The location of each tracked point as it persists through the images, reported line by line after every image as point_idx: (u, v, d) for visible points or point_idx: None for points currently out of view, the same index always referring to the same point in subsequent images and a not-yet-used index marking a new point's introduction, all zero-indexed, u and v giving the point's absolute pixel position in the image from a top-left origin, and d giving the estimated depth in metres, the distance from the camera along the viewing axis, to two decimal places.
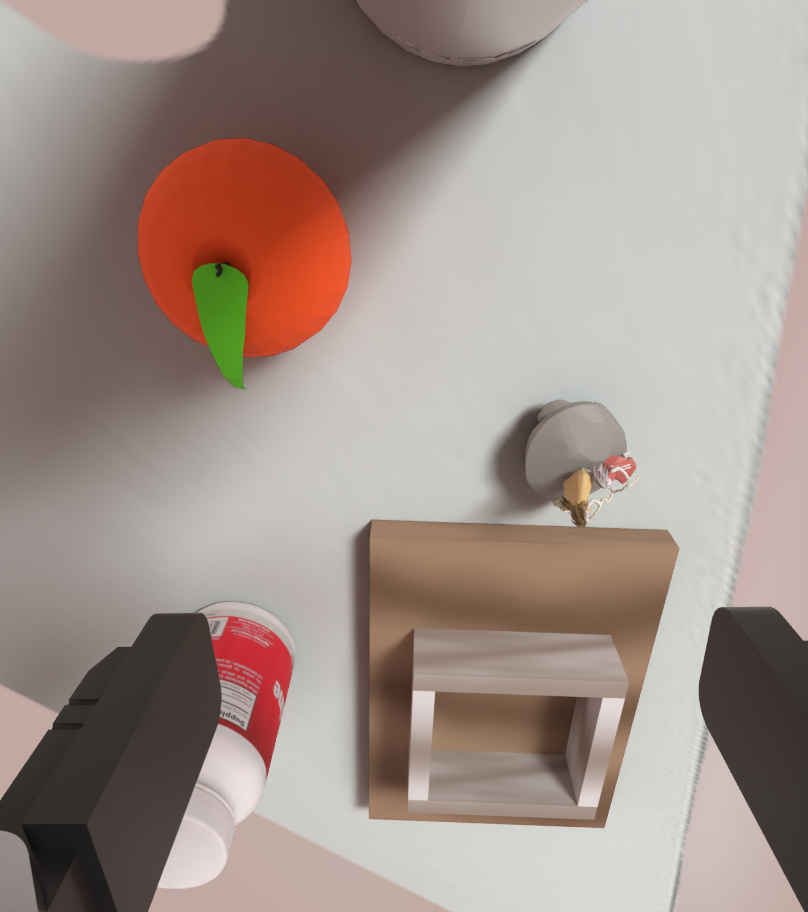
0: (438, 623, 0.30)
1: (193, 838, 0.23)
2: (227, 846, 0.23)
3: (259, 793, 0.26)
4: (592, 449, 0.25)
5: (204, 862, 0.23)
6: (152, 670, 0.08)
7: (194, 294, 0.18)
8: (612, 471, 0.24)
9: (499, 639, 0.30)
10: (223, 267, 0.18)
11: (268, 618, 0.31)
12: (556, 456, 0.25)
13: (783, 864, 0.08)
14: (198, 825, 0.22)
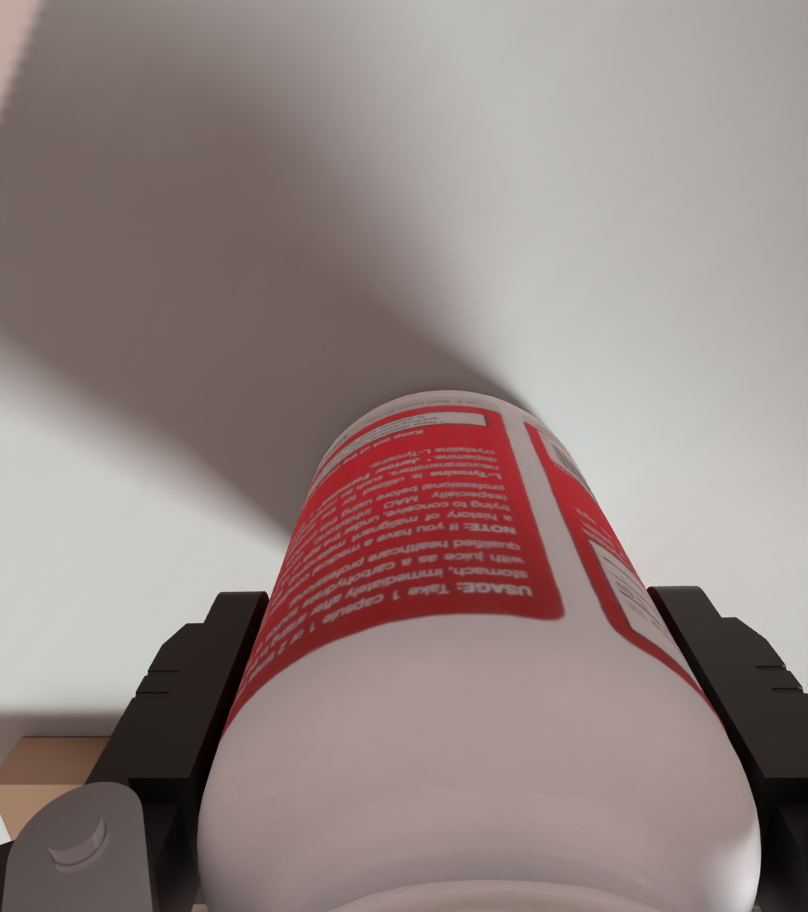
0: None
1: None
2: None
3: None
4: None
5: None
6: (227, 642, 0.09)
7: None
8: None
9: None
10: None
11: None
12: None
13: None
14: None
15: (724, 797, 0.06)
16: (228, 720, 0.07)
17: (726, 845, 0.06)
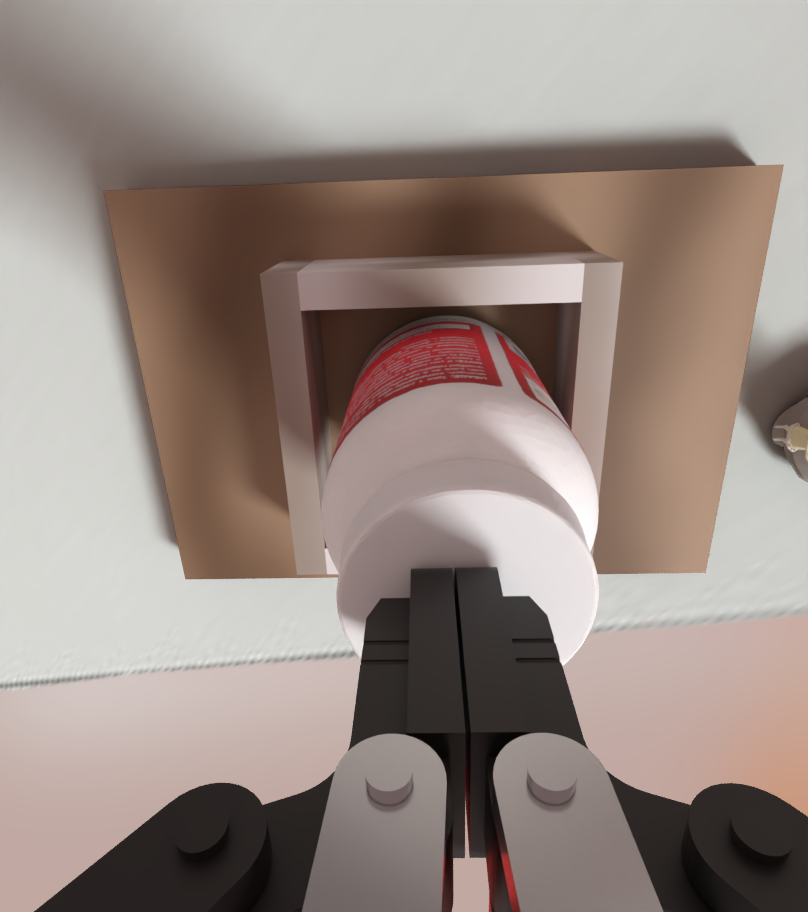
0: None
1: None
2: None
3: None
4: None
5: None
6: (442, 613, 0.09)
7: None
8: None
9: None
10: None
11: None
12: None
13: (464, 783, 0.09)
14: None
15: (572, 460, 0.13)
16: (336, 450, 0.14)
17: (572, 480, 0.12)
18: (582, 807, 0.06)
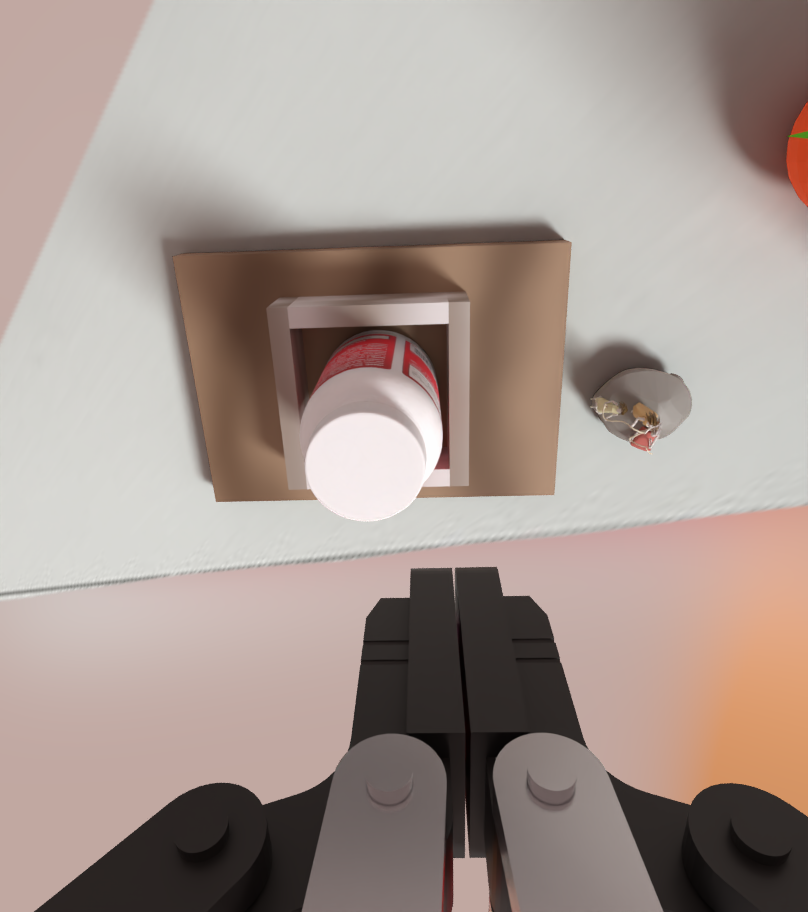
0: (473, 314, 0.32)
1: (389, 496, 0.24)
2: None
3: None
4: (664, 418, 0.33)
5: (353, 503, 0.24)
6: (442, 613, 0.09)
7: None
8: (658, 435, 0.33)
9: None
10: None
11: None
12: (658, 393, 0.33)
13: (464, 783, 0.09)
14: (408, 502, 0.24)
15: (423, 405, 0.25)
16: None
17: (423, 415, 0.25)
18: (582, 806, 0.06)
